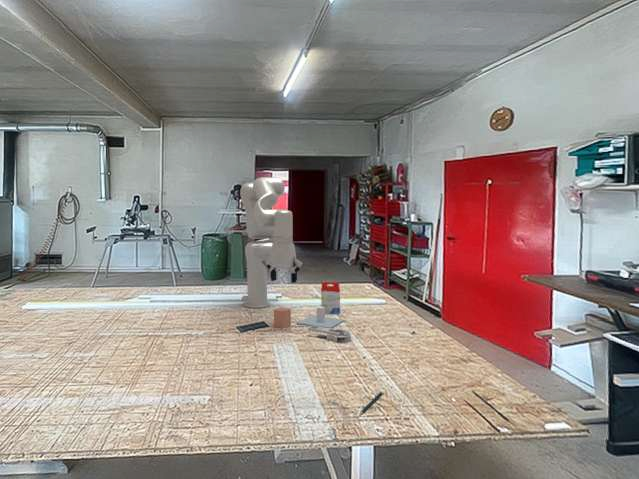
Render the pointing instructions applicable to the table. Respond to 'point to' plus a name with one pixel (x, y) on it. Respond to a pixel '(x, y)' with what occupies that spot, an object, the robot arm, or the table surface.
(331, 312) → the ink box
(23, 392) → the table surface
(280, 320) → the salmon pink block
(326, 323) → the post fixture
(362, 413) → the pencil
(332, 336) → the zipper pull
